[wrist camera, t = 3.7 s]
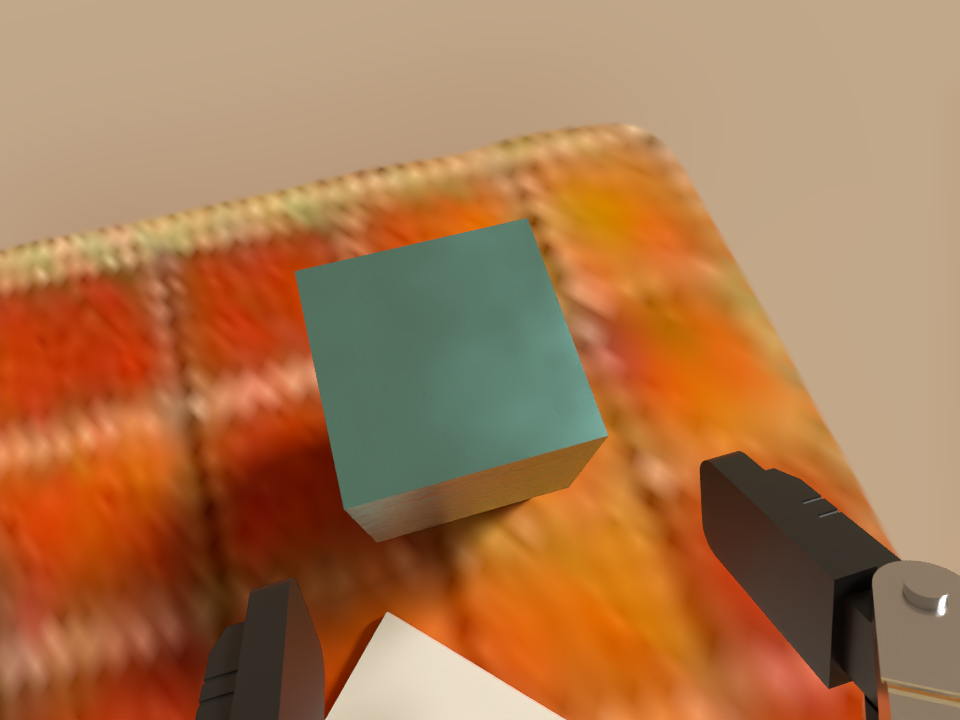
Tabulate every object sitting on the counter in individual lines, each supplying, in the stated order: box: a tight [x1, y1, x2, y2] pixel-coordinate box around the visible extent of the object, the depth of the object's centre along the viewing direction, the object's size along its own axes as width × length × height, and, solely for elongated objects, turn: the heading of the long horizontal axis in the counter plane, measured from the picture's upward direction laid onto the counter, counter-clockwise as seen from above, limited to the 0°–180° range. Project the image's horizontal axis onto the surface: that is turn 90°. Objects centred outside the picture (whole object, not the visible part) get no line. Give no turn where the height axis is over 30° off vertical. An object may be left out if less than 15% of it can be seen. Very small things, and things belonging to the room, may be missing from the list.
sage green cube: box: [295, 218, 608, 542], centre depth 19 cm, size 6×6×6 cm
